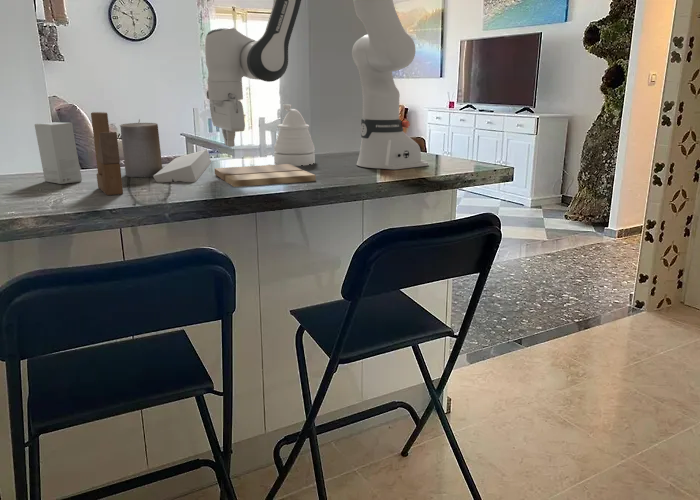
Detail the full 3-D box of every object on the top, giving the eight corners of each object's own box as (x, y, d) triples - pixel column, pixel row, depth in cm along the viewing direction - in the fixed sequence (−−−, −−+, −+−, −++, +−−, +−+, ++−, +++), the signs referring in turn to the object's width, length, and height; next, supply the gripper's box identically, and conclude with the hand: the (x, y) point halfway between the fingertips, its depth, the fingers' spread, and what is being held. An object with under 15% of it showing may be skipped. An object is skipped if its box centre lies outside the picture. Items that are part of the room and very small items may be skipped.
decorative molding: (159, 193, 150) (196, 183, 150) (152, 176, 149) (190, 165, 149) (181, 172, 182) (211, 163, 183) (175, 157, 181) (206, 149, 181)
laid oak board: (304, 176, 160) (304, 170, 159) (315, 180, 153) (315, 174, 152) (225, 181, 150) (225, 175, 150) (233, 186, 143) (233, 180, 143)
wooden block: (107, 195, 132) (97, 114, 126) (97, 188, 140) (88, 112, 135) (123, 194, 133) (115, 114, 128) (113, 186, 142) (105, 111, 137)
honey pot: (276, 166, 177) (274, 105, 172) (272, 160, 189) (271, 103, 184) (317, 165, 180) (317, 105, 174) (311, 159, 192) (311, 103, 186)
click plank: (289, 169, 169) (289, 163, 169) (302, 175, 161) (302, 169, 160) (214, 174, 160) (214, 168, 159) (224, 180, 151) (223, 174, 151)
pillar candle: (155, 170, 166) (149, 117, 162) (168, 175, 159) (162, 119, 154) (120, 174, 160) (113, 119, 156) (132, 179, 153) (126, 121, 149)
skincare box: (82, 181, 148) (75, 122, 144) (59, 185, 143) (51, 124, 139) (64, 178, 153) (57, 120, 148) (42, 181, 148) (33, 122, 144)
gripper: (248, 93, 145) (252, 149, 149) (227, 91, 162) (231, 141, 166) (224, 94, 142) (228, 151, 146) (204, 92, 159) (209, 142, 164)
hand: (229, 146), depth 156 cm, fingers closed
